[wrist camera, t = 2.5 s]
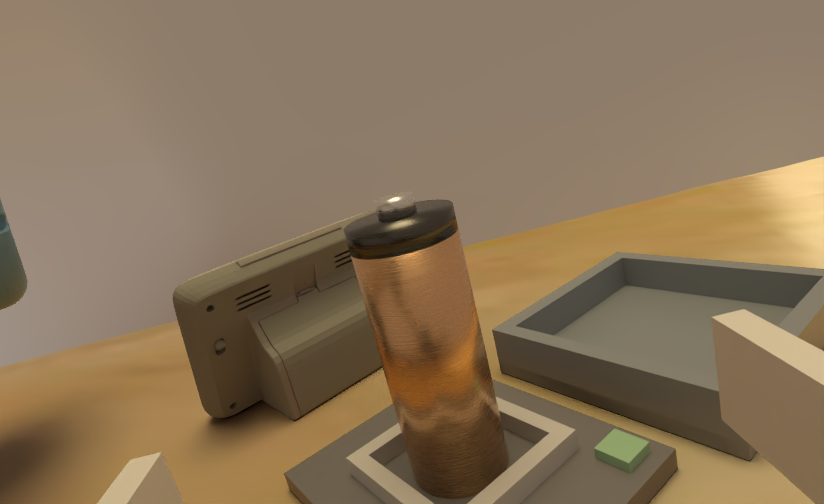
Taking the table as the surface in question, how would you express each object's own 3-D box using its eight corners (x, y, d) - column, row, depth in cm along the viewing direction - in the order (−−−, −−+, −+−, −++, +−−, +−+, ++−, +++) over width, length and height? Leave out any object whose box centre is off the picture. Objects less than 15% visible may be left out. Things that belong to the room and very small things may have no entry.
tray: (501, 372, 32) (492, 329, 32) (622, 288, 40) (617, 252, 39) (749, 460, 21) (745, 398, 20) (852, 321, 29) (851, 271, 28)
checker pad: (289, 489, 26) (278, 457, 26) (457, 378, 33) (450, 350, 32) (481, 698, 15) (467, 649, 15) (677, 468, 22) (673, 428, 21)
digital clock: (389, 319, 45) (357, 203, 43) (443, 349, 38) (409, 209, 35) (202, 402, 39) (150, 271, 36) (221, 459, 31) (157, 296, 28)
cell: (394, 470, 24) (318, 213, 21) (462, 420, 27) (403, 183, 23) (458, 516, 21) (378, 215, 17) (529, 454, 23) (471, 179, 20)
